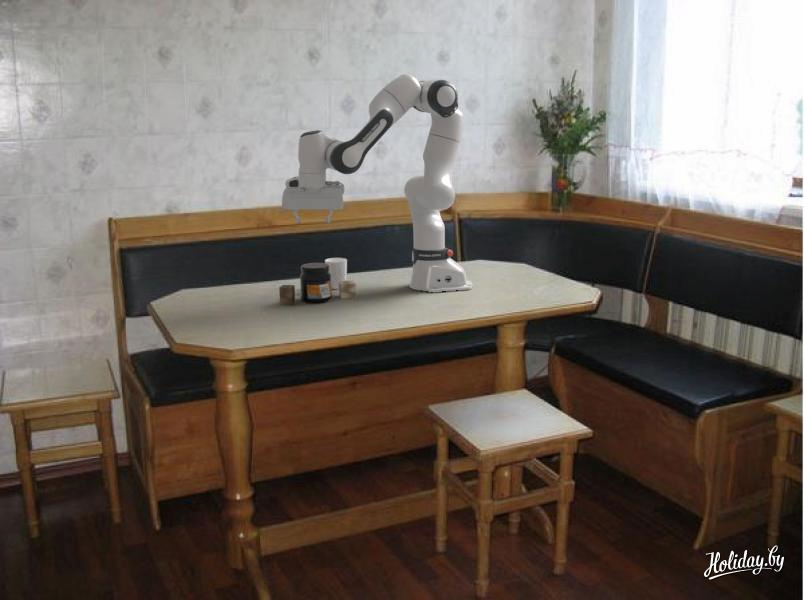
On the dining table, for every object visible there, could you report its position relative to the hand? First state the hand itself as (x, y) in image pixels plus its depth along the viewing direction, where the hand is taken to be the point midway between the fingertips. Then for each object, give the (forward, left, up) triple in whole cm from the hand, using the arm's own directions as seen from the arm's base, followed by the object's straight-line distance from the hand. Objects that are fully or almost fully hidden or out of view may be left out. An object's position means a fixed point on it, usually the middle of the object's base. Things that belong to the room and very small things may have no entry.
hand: (313, 223), depth 282 cm
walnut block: (+9, +4, -26) cm, 28 cm away
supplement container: (0, 0, -26) cm, 26 cm away
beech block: (-11, -4, -26) cm, 29 cm away
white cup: (-7, -18, -26) cm, 32 cm away
